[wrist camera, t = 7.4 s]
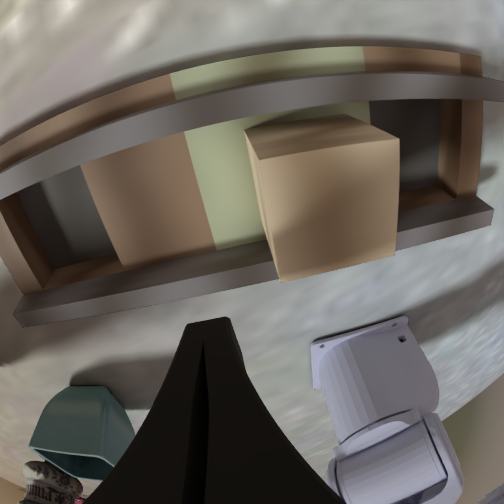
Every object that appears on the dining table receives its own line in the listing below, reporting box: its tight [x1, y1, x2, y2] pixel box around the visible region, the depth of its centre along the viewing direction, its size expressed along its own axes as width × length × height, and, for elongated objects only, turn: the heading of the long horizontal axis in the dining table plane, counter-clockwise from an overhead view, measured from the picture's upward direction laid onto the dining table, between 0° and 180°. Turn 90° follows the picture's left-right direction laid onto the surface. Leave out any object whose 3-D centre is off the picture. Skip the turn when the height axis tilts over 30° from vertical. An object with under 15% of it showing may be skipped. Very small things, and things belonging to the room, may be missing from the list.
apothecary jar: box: [18, 455, 83, 504], centre depth 33 cm, size 12×12×18 cm
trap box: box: [0, 46, 504, 327], centre depth 15 cm, size 32×12×4 cm, turn 100°
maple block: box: [244, 114, 400, 283], centre depth 13 cm, size 5×5×5 cm
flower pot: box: [28, 386, 135, 481], centre depth 25 cm, size 9×9×9 cm
